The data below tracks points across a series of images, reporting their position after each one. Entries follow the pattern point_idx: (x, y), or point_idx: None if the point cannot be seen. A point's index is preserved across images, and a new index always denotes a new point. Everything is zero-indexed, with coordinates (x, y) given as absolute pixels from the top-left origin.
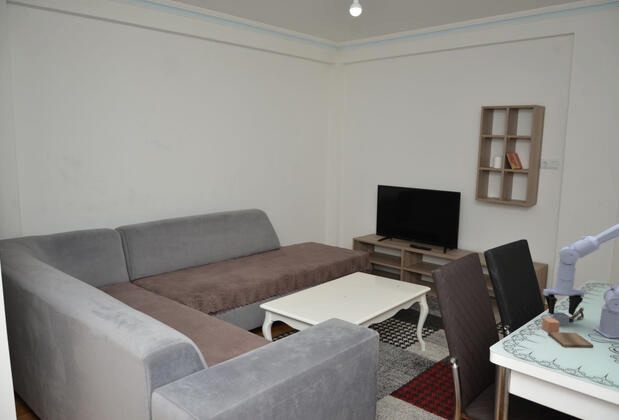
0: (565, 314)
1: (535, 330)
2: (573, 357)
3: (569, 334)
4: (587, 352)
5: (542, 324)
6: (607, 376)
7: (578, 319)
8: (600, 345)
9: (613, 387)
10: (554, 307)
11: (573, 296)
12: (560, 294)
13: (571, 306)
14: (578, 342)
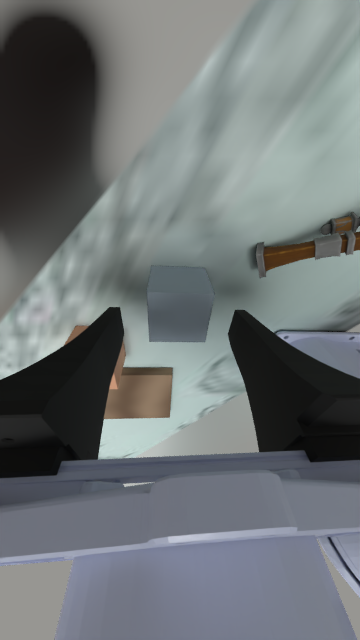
0: (206, 318)
1: (44, 342)
2: (102, 432)
3: (143, 384)
4: (142, 421)
5: (69, 337)
6: (128, 456)
7: (325, 234)
8: (197, 402)
9: None
10: (111, 377)
11: (288, 446)
12: (147, 478)
13: (250, 356)
14: (140, 411)
